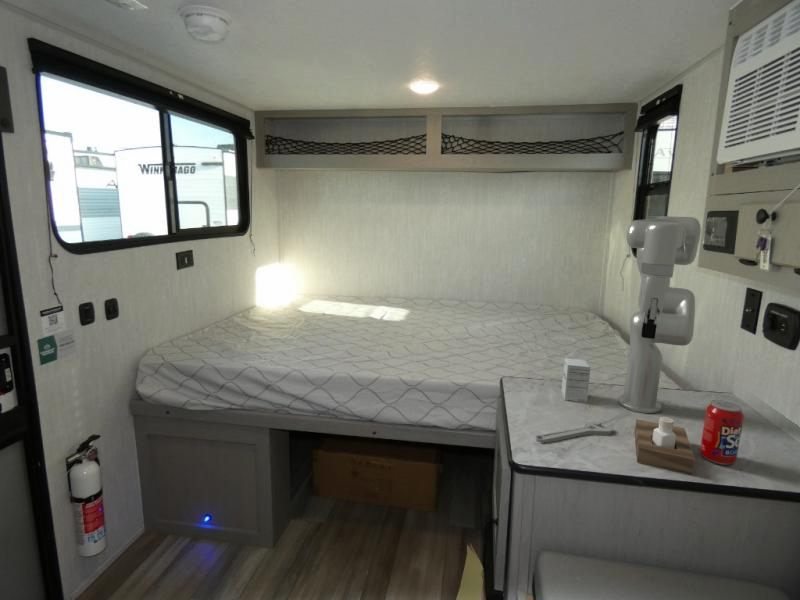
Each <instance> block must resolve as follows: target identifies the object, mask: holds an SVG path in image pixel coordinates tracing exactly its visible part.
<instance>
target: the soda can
mask: <svg viewBox="0 0 800 600" xmlns="http://www.w3.org/2000/svg"><path fill="white" fill-rule="evenodd" d="M744 419H745V414H744V412H743V408H742V406H740V405H738V404H737V403H734V402H730V401H727V400H723V399H722V400H721V399H720V400H719V399H715V400H711V402H710V404H708V405H707V407H706V409H705V416H704V422H703V426H702V427H703V428H702V434H701V435H702V436H701V441H700V446H699V447H700V448H699V453H700V454H701V456H703V457H704V458H705V459H706V460H708V461H709V462H711V463H714V464H716V465H724V466H725V465H726V466H727V465H732V464H735V463H736V461H737V458H738V455H739V454H738V452H739V449H740V448H739V447H740V442H741V435H742V430H743V425H744Z"/></svg>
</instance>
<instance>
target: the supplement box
mask: <svg viewBox="0 0 800 600" xmlns="http://www.w3.org/2000/svg"><path fill="white" fill-rule="evenodd" d="M562 371H563V372H562V382H561V394H562V397H563V399H565V400H564V401H568V400H573V401H572V402H578V401H581V402H580V403H587V402H588V394H589V393H588V392H589V386H590V385H589V384H590V376H591V366H590V364H589V362H588V361H587V360H586V359H580V358H566V357H565V358H564V362H563V370H562Z"/></svg>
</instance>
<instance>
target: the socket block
mask: <svg viewBox="0 0 800 600" xmlns="http://www.w3.org/2000/svg"><path fill="white" fill-rule="evenodd" d="M656 428H659V422H652V421H648V420H642V419H635V426H634V441H635V444H634V445H635V454H636V463H639V464H642V465H643V464H644V465H647V466H652V467H657V468H662V469H665V470H670V471H674V472H679V473H682V474H688V475H693V471H694V466H695V465H694V464H695V456H694V454H693V450H692V447H691V445H690V440H689V438H688V434H687V432H686V428H685V427H681V426H674V425H673V429H672V432H674V433H675V434H676V441H675V447H674V449H673V448H668V447H663V446H658V445H653V444H652V438H653V431H654V429H656Z"/></svg>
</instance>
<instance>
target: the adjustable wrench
mask: <svg viewBox="0 0 800 600" xmlns="http://www.w3.org/2000/svg"><path fill="white" fill-rule="evenodd" d="M613 433H614V427H613V425H610V426H608V427H602V422H601V421H589V422H586V423H585V424H584V426H583V427H578V428H572V429H566V430H561V431H554V432H548V433H543V434H538V435H535V442H536V441H537V443H538V442H541V443H540V444H545V443H544V442H547V443H551V442H550V441H552V442H556V441H555V440H557V441H561V440H560V439H562V440H565V438H567V439H571V438H570V437H572V438H576V437H575V436H578V437H581V435H583V436H587V434H588V435H595V436H596V435H600V436H610V435H613Z"/></svg>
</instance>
